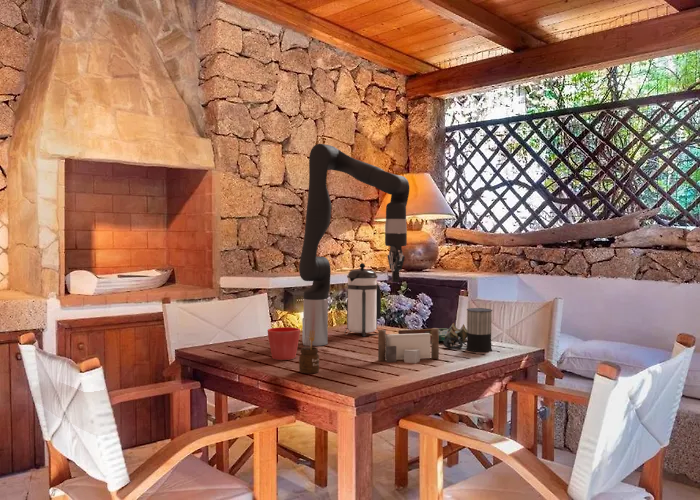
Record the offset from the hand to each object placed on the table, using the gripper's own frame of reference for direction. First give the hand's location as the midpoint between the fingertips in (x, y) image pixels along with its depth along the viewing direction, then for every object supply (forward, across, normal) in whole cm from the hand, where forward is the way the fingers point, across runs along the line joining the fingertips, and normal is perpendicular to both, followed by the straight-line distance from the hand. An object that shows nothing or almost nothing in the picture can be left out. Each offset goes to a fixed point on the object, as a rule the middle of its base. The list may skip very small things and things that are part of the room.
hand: (395, 282), depth 211 cm
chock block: (+25, +15, +1) cm, 29 cm away
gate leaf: (+25, +11, +1) cm, 27 cm away
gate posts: (+25, +12, +1) cm, 28 cm away
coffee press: (+25, -46, 0) cm, 52 cm away
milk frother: (+25, -3, +28) cm, 38 cm away
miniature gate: (+26, -28, +24) cm, 45 cm away
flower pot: (+25, 0, -39) cm, 46 cm away
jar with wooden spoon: (+25, +23, -34) cm, 48 cm away
